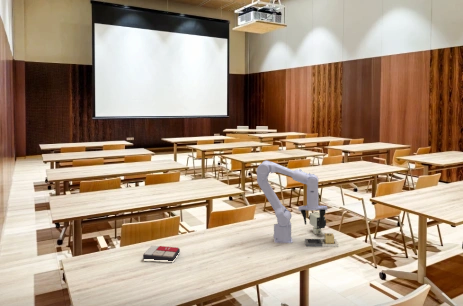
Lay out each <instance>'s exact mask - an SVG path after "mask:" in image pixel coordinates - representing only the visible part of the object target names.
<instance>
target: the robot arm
mask: <svg viewBox="0 0 463 306" xmlns="http://www.w3.org/2000/svg"><path fill="white" fill-rule="evenodd" d="M255 172H256V182H257V185H258V186H259V188H260V189H261V191H262V192H263V194H264V196H265V198H266V199H267V201H268V202H269V205H270V206H271V207H272V209H273V210H274V215H275V218H276V220H277V223H275V224H273V235H272V236H273V242H274V244H276V243H277V244H293V237H292V222H291V219H292V212H291V211H290V210H288V209H287V207H286V206H284V205H283V203H282V202H281V200H280V199H279V197H278V196H277V194H276V193H275V190H274V189H273V187H272V186H271V184H270V182H269V181H268V178H269V175H270V174H274V173H279V174H283V175H285V176H288V177H291V178H292V181H295V182H298V183H301V184H303V185H306V205H300V206H298V212H300V213H301V215H302V217H303V222H304V225H307V212H306V211H319V212H318V213H319V214H320V219H319V223H320V224H322V219H323V217H325V214H326V211H328V206H327V205H319V177H318V175H316V174H315V173H310V172H309V173H308V172H305V171H302V169H300V168H299V169H295V170H292V169H291V168H289V167H285V166H284V165H280V164H279V163H276V162H273V161H270V160H263V161H262V163H260V164H258V166H257V168H256V171H255Z"/></svg>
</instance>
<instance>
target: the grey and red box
mask: <svg viewBox="0 0 463 306" xmlns="http://www.w3.org/2000/svg"><path fill="white" fill-rule="evenodd" d="M180 250H181V249H180V248H179V247H175V246H164V245H159V246H158V245H151V246H149V248H148V249H147V250H146V251H145V252H144V253H143V254H142V260H143V259H154V260H168V261H173V260H174V259H175V258H176V256H177V255H178V253H179V252H180ZM178 256H179V255H178ZM176 259H177V258H176Z"/></svg>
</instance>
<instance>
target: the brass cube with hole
mask: <svg viewBox="0 0 463 306" xmlns="http://www.w3.org/2000/svg"><path fill="white" fill-rule="evenodd" d="M323 235H324V238H323V239H324V243H325V244H334V239H335V235H334V233H332V232H331V233H330V232H329V233H328V232H327V233H326V232H325V233H324V234H323Z"/></svg>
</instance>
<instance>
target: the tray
mask: <svg viewBox="0 0 463 306" xmlns="http://www.w3.org/2000/svg"><path fill="white" fill-rule="evenodd" d="M304 243H305V247H307V248H308V247H312V248H313V247H315V248H316V247H319V248H322V247H323V248H324V247H326V248H328V247H330V248H338V247H339V243H338V241H337V239H336V238H334V244H325V243H324V238H304Z"/></svg>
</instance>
